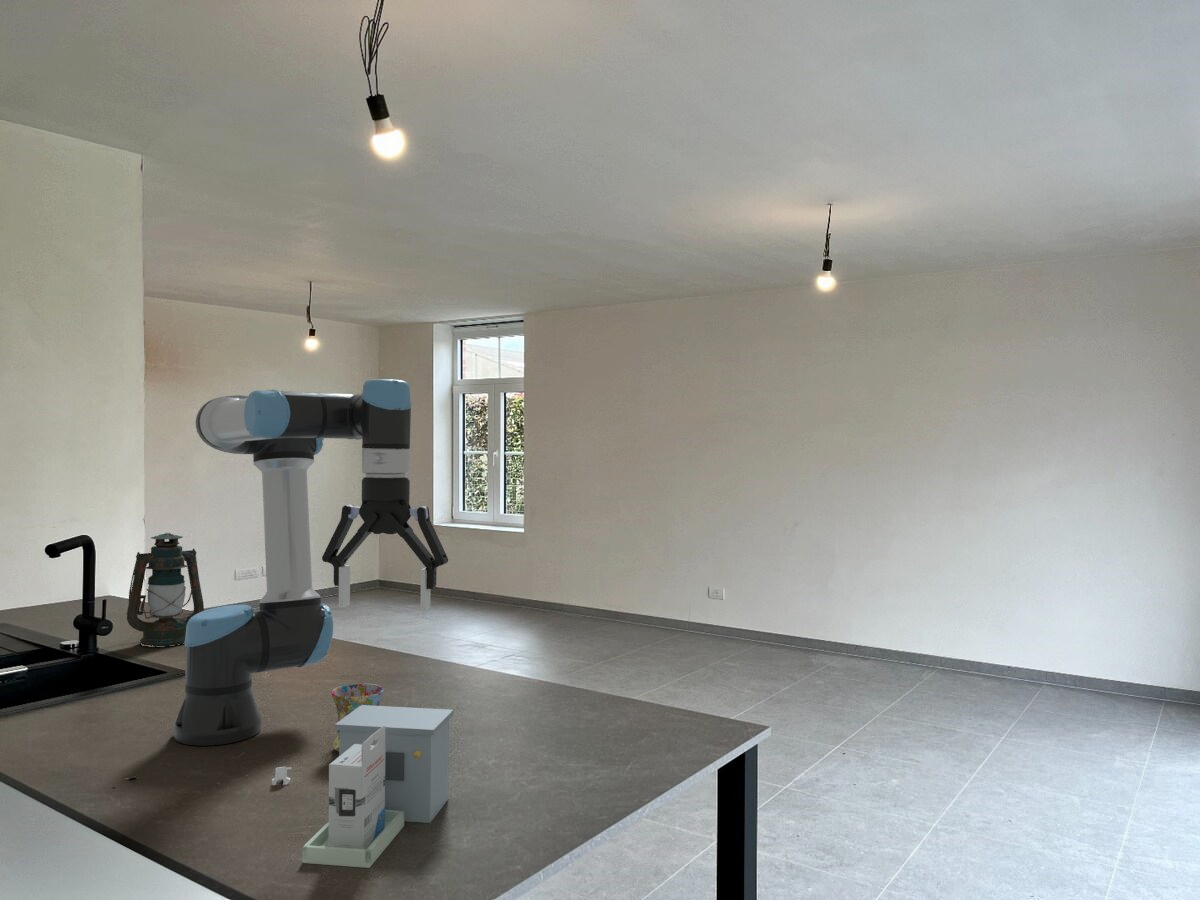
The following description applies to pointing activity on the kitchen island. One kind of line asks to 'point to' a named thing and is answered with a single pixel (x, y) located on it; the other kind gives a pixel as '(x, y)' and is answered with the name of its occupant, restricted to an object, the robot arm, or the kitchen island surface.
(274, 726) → the kitchen island surface
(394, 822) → the tray
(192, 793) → the kitchen island surface
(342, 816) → the ink box
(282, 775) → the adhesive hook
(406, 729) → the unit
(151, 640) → the lantern
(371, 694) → the mug
